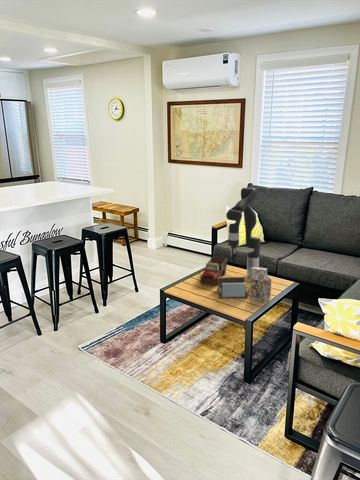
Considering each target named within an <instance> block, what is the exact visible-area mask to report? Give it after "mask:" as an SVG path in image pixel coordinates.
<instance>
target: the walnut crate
mask: <svg viewBox="0 0 360 480" xmlns="http://www.w3.org/2000/svg"><path fill="white" fill-rule="evenodd" d="M245 279H246V277H245V276H219V277H218V280H217V287H216V288H217V294H218V295H217V296H218V299H221V300H222V299H225V300H226V299H229V300H230V299H249V298H248V297H249V293H248V292H249V291H248V289H247V286H246V287H245V297H222V283H246V282H245Z"/></svg>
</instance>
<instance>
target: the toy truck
mask: <svg viewBox="0 0 360 480" xmlns="http://www.w3.org/2000/svg"><path fill="white" fill-rule="evenodd" d="M227 262H228V258H227V257H223V256H212V257H211V258H210V259H209V260H208V262H207V263H205V264H206V265H205V268H203V270H202V271H203V272H202V273H201V274H200V276H199V277H200V280H199V283H200V284H202V285H204V284H208V285H209V284H210V285H214V286H215V287H216V286H217V280H218V277H221V275H222V276H225V275H226V273H227V272H226V271H227V267H228V266H227V265H228V263H227Z"/></svg>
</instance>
